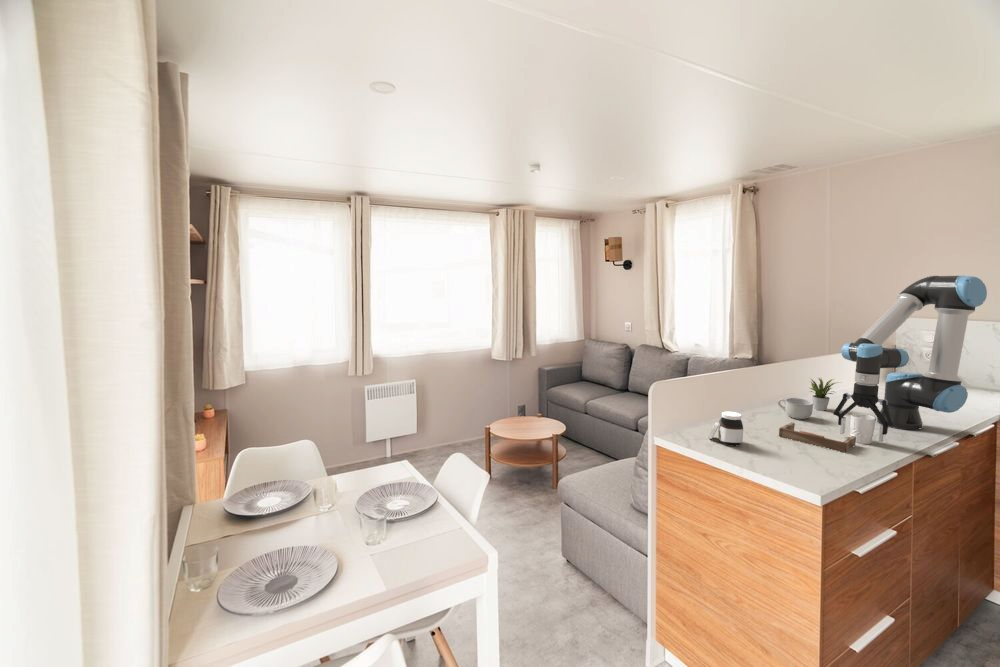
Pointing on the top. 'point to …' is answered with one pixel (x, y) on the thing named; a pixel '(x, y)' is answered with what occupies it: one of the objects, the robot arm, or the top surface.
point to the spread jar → (729, 429)
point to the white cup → (862, 427)
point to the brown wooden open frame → (816, 439)
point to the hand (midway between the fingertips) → (860, 437)
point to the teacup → (797, 407)
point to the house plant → (821, 394)
